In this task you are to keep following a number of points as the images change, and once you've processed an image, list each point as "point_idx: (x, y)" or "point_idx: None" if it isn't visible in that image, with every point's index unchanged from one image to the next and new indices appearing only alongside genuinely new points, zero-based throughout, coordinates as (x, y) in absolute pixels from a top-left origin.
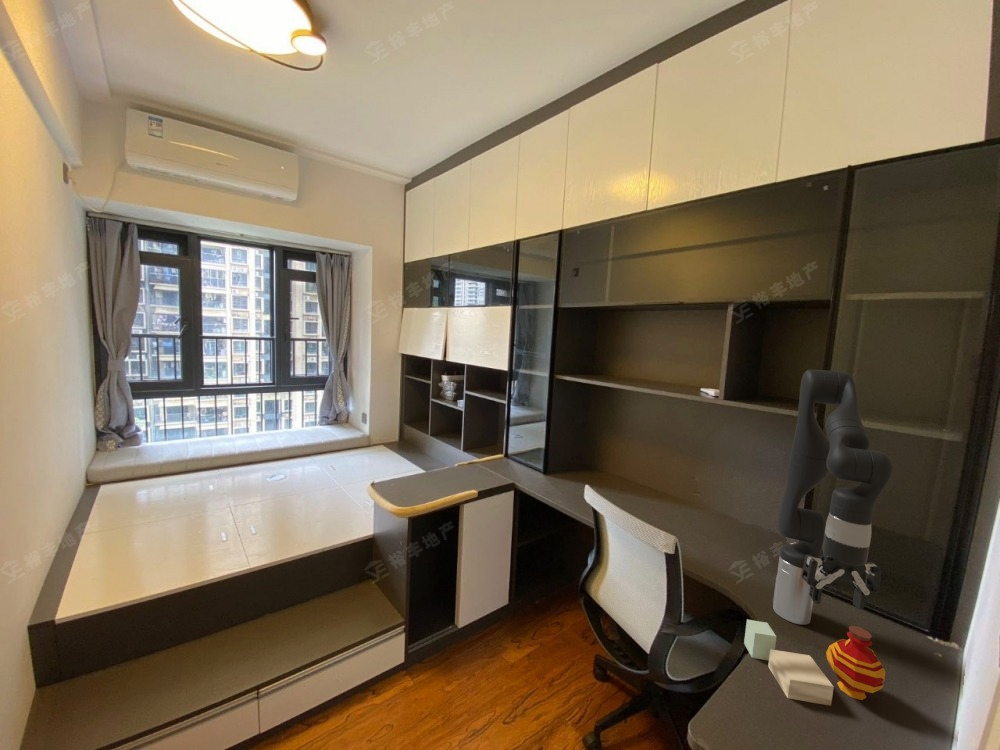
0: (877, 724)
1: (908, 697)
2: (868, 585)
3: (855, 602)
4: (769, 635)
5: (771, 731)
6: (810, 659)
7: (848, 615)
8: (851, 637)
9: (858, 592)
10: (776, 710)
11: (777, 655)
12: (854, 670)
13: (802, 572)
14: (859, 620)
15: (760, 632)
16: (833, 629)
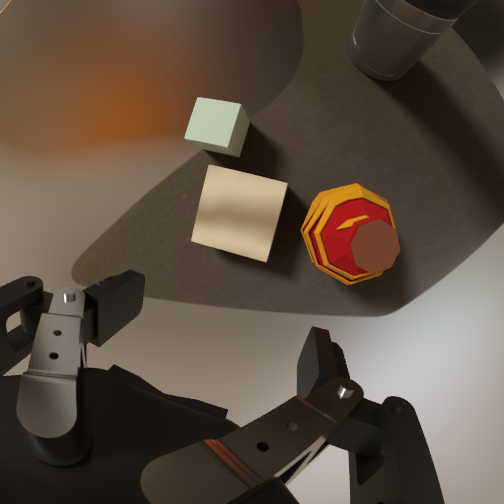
0: (317, 289)
1: (421, 248)
2: (362, 439)
3: (307, 347)
4: (212, 144)
5: None
6: (279, 194)
7: (474, 87)
8: (346, 243)
9: (306, 395)
10: (169, 255)
11: (211, 182)
12: (316, 265)
13: (4, 290)
14: (482, 101)
15: (198, 136)
16: (430, 102)
